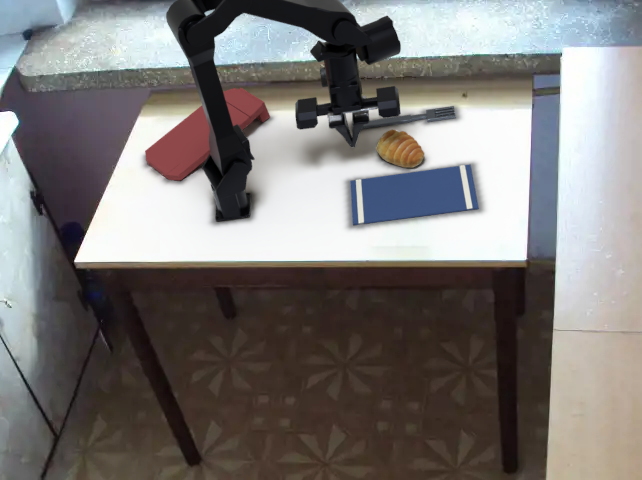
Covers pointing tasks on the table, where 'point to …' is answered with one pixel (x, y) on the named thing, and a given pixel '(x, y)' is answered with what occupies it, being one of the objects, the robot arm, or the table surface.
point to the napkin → (413, 194)
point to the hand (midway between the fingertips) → (353, 146)
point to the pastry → (400, 149)
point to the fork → (415, 117)
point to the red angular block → (200, 135)
